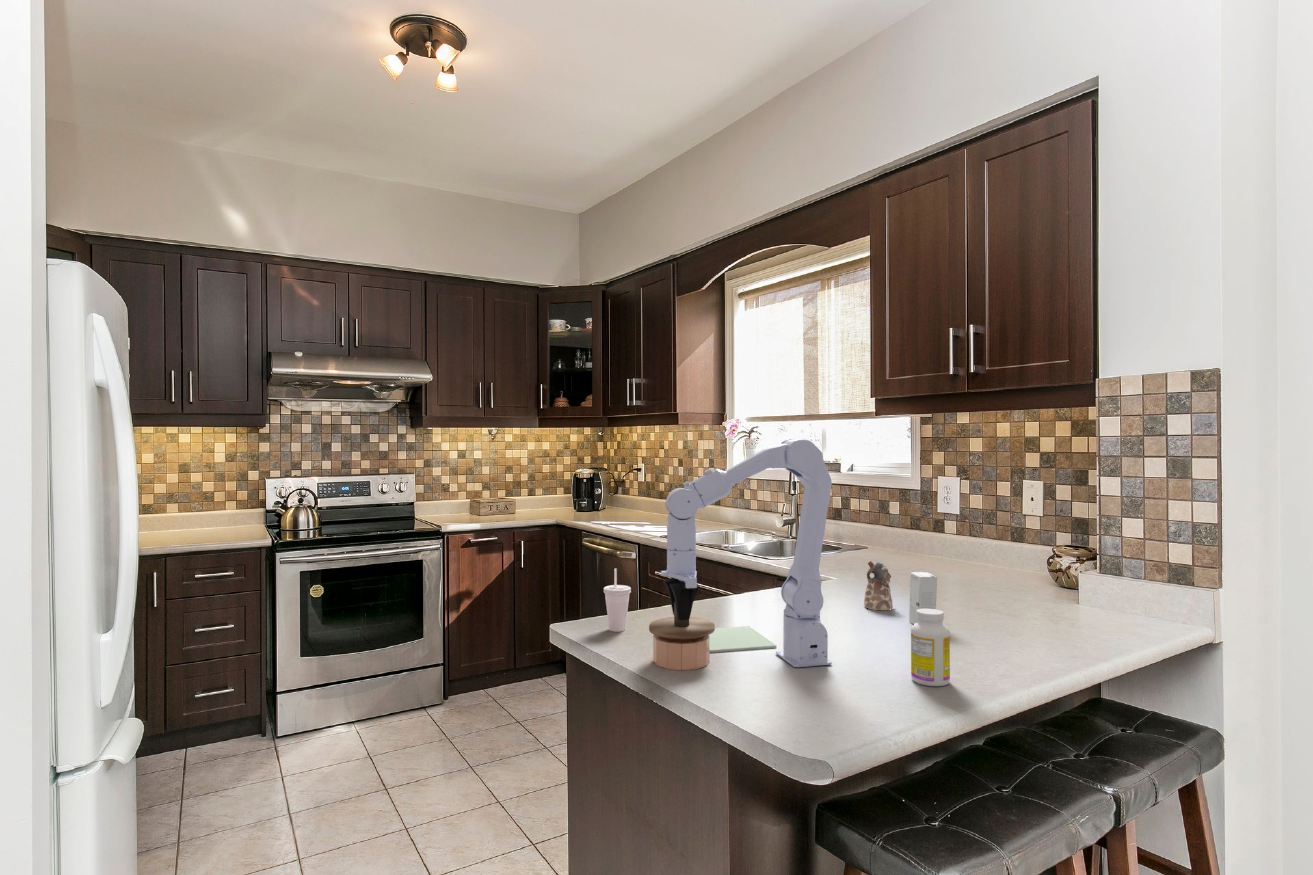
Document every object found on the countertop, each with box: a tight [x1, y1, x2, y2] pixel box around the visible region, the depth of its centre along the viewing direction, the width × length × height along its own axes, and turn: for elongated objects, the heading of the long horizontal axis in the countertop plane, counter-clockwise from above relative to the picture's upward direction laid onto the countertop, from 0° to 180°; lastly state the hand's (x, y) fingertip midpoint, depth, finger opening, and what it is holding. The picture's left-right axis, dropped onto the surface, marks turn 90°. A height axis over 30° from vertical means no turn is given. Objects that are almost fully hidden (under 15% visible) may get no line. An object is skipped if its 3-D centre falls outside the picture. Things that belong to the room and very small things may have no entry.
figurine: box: [863, 560, 894, 611], centre depth 189 cm, size 7×7×12 cm
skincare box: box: [908, 571, 938, 625], centre depth 172 cm, size 6×4×12 cm
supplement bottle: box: [910, 608, 951, 687], centre depth 133 cm, size 7×7×13 cm
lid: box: [648, 602, 716, 639], centre depth 145 cm, size 13×13×5 cm
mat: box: [709, 625, 777, 654], centre depth 160 cm, size 16×16×1 cm
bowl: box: [652, 634, 710, 671], centre depth 145 cm, size 11×11×5 cm
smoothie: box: [603, 568, 632, 633], centre depth 168 cm, size 6×6×14 cm
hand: (681, 617), depth 145 cm, fingers closed on lid, 3 cm apart
